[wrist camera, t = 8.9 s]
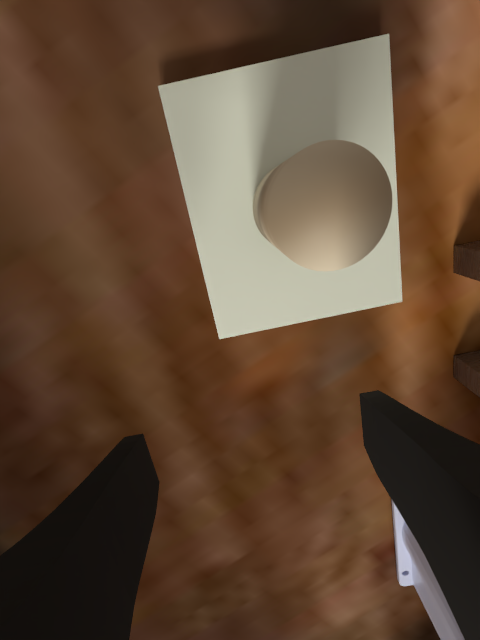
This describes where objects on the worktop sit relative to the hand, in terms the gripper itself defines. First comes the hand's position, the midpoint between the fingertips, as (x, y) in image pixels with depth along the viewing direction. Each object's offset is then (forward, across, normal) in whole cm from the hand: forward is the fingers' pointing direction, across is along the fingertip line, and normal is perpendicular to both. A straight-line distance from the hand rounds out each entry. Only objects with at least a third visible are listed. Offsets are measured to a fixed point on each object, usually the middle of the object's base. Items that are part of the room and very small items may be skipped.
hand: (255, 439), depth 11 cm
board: (+9, -4, -6) cm, 12 cm away
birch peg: (+8, -4, -6) cm, 11 cm away
